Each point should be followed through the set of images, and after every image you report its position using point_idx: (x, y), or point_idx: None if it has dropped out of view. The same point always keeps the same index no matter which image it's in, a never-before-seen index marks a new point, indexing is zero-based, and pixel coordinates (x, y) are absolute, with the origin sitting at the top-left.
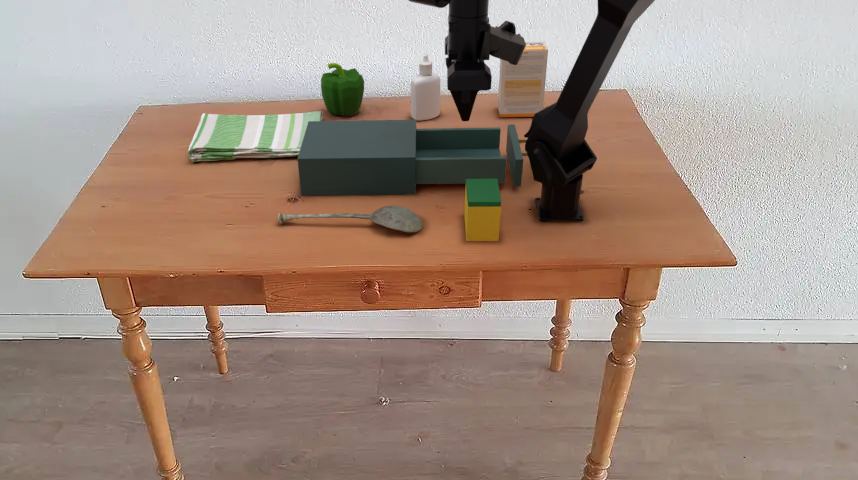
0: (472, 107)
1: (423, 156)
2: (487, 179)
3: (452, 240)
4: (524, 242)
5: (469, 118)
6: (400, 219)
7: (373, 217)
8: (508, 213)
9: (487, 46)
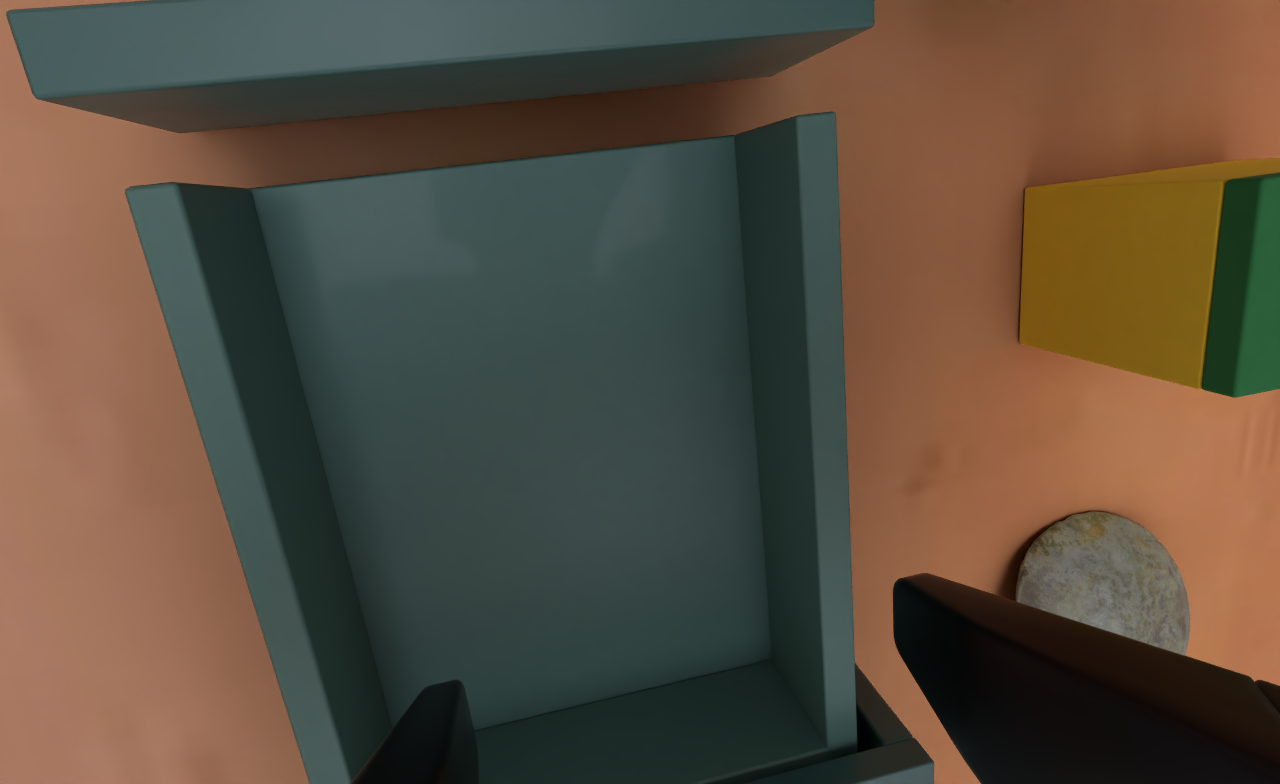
0: (1150, 649)
1: (496, 682)
2: (1270, 250)
3: None
4: (1249, 28)
5: (951, 582)
6: (1178, 622)
7: None
8: (992, 112)
9: None
